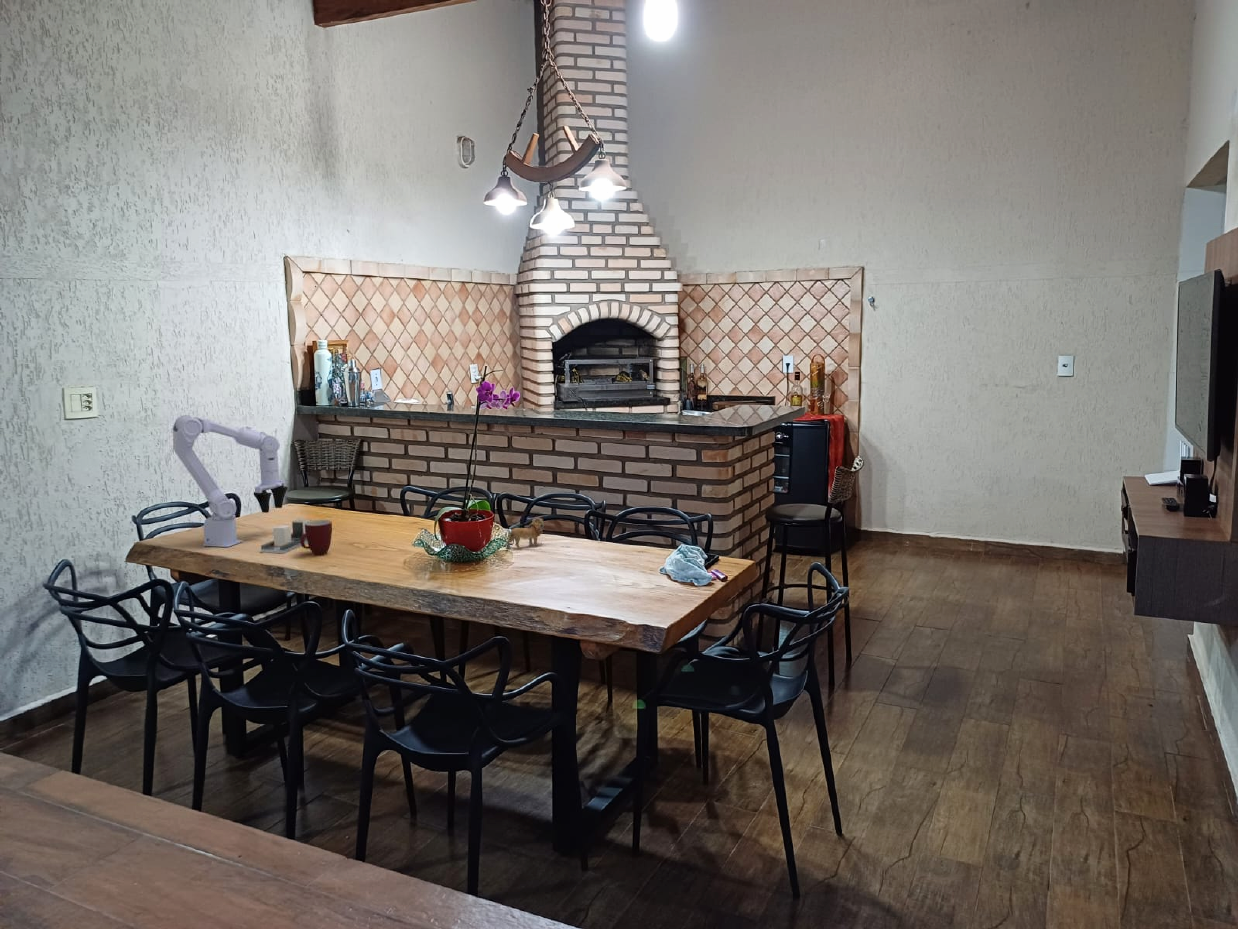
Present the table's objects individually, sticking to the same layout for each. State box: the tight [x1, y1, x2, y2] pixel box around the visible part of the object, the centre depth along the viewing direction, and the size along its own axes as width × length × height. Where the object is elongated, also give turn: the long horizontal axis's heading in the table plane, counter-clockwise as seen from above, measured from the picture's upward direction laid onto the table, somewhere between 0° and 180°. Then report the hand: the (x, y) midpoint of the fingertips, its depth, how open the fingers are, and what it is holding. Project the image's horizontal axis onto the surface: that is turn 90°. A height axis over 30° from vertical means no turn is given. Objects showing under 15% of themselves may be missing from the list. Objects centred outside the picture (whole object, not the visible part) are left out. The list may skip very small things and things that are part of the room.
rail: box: [260, 518, 310, 554], centre depth 288 cm, size 8×19×7 cm, turn 168°
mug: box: [300, 519, 333, 556], centre depth 276 cm, size 10×8×10 cm
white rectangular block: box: [272, 525, 292, 546], centre depth 284 cm, size 4×4×6 cm
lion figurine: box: [505, 517, 545, 550], centre depth 285 cm, size 15×5×9 cm, turn 131°
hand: (272, 510), depth 298 cm, fingers open, 7 cm apart
